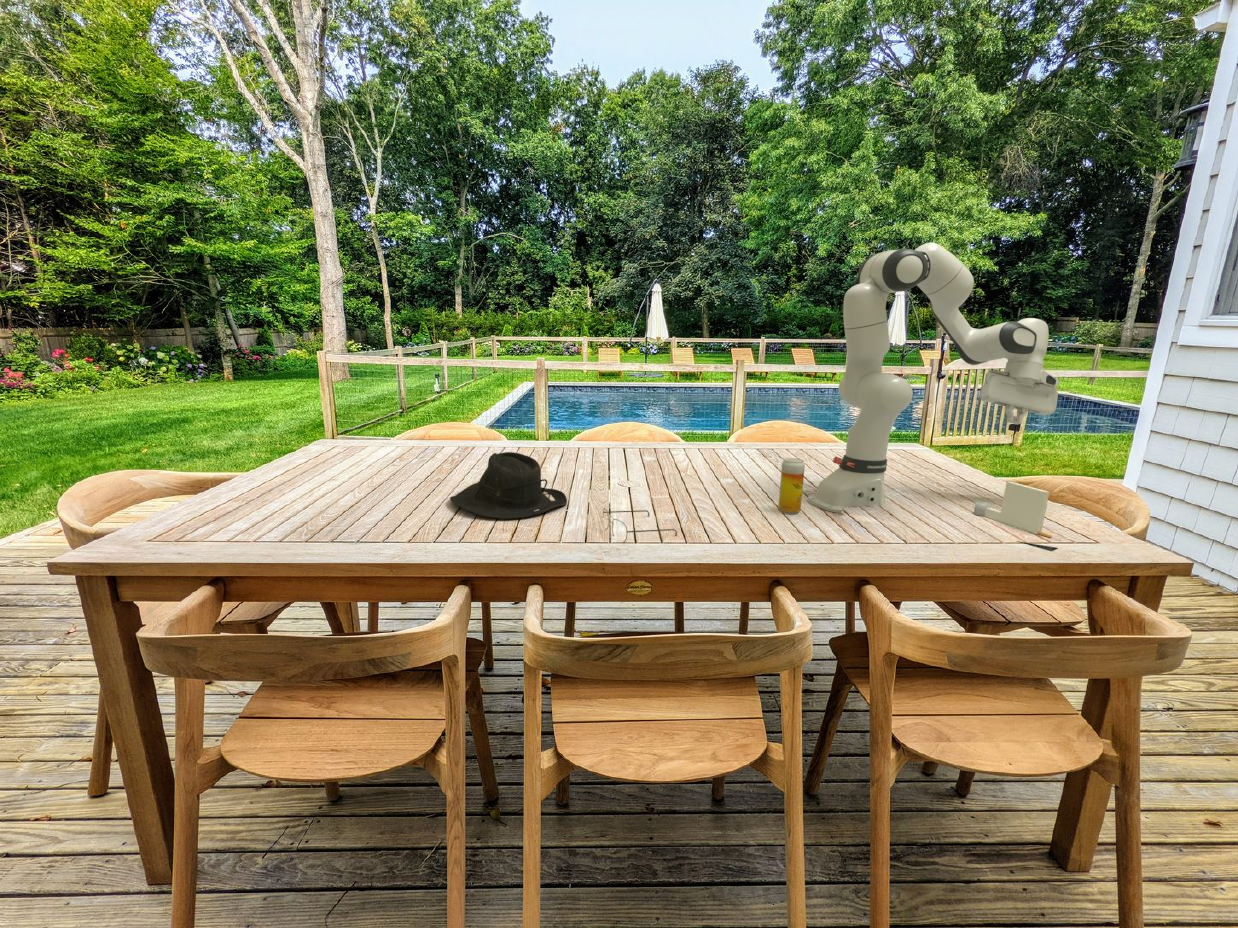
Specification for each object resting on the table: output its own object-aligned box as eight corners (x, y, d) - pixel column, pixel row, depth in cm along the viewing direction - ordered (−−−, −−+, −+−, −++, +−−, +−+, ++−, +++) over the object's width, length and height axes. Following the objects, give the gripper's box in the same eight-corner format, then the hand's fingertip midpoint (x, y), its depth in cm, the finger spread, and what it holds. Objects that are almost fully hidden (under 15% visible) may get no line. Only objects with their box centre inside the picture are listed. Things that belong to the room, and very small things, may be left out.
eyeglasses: (598, 524, 146) (598, 506, 145) (649, 517, 152) (649, 500, 151) (621, 545, 132) (622, 525, 131) (677, 537, 138) (678, 518, 137)
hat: (535, 482, 186) (534, 439, 183) (584, 511, 156) (584, 461, 153) (438, 494, 170) (435, 448, 166) (472, 529, 140) (470, 474, 137)
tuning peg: (970, 512, 156) (977, 474, 153) (980, 511, 157) (986, 474, 154) (1045, 538, 137) (1054, 495, 134) (1056, 537, 138) (1065, 494, 135)
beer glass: (801, 515, 155) (806, 463, 152) (778, 513, 156) (783, 461, 153) (798, 509, 161) (803, 458, 157) (777, 507, 162) (781, 457, 158)
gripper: (995, 365, 155) (986, 413, 155) (1065, 382, 156) (1056, 430, 155) (980, 370, 162) (970, 416, 161) (1047, 386, 162) (1038, 432, 161)
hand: (1013, 423), depth 158 cm, fingers closed
